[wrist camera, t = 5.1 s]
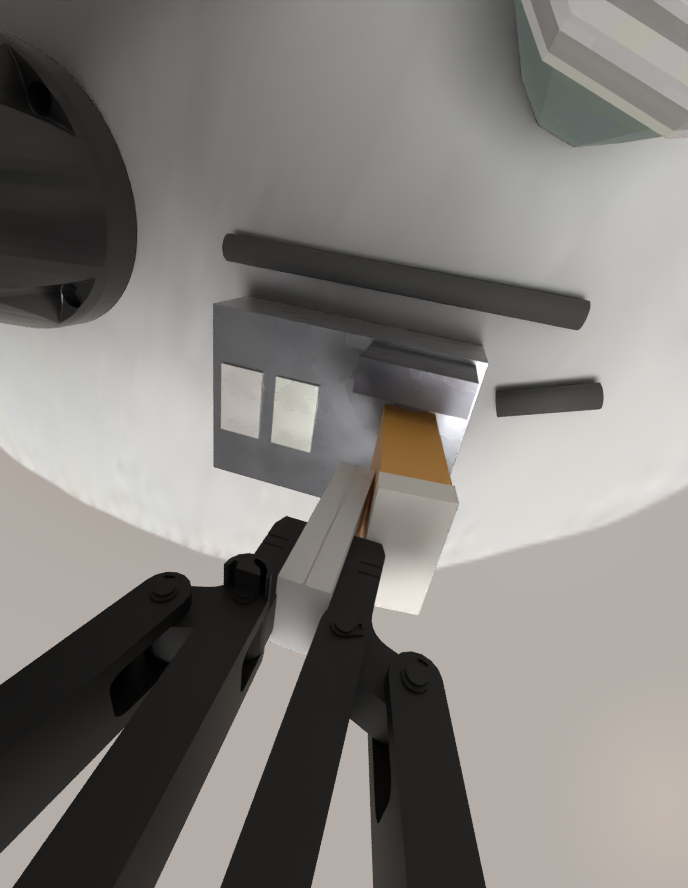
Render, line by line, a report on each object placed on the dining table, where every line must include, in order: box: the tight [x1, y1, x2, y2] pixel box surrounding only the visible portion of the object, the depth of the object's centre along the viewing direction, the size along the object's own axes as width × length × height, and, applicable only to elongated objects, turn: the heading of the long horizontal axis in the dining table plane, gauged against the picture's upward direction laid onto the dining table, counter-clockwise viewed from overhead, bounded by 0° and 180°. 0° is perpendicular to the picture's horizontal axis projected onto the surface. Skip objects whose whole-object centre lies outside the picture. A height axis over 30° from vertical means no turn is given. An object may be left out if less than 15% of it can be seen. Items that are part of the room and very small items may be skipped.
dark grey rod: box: [222, 233, 590, 330], centre depth 21 cm, size 19×1×1 cm, turn 81°
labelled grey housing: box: [213, 296, 488, 537], centre depth 22 cm, size 14×10×7 cm
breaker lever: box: [360, 403, 459, 615], centre depth 17 cm, size 2×6×8 cm, turn 171°
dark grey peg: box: [496, 382, 603, 417], centre depth 21 cm, size 5×1×1 cm, turn 101°
